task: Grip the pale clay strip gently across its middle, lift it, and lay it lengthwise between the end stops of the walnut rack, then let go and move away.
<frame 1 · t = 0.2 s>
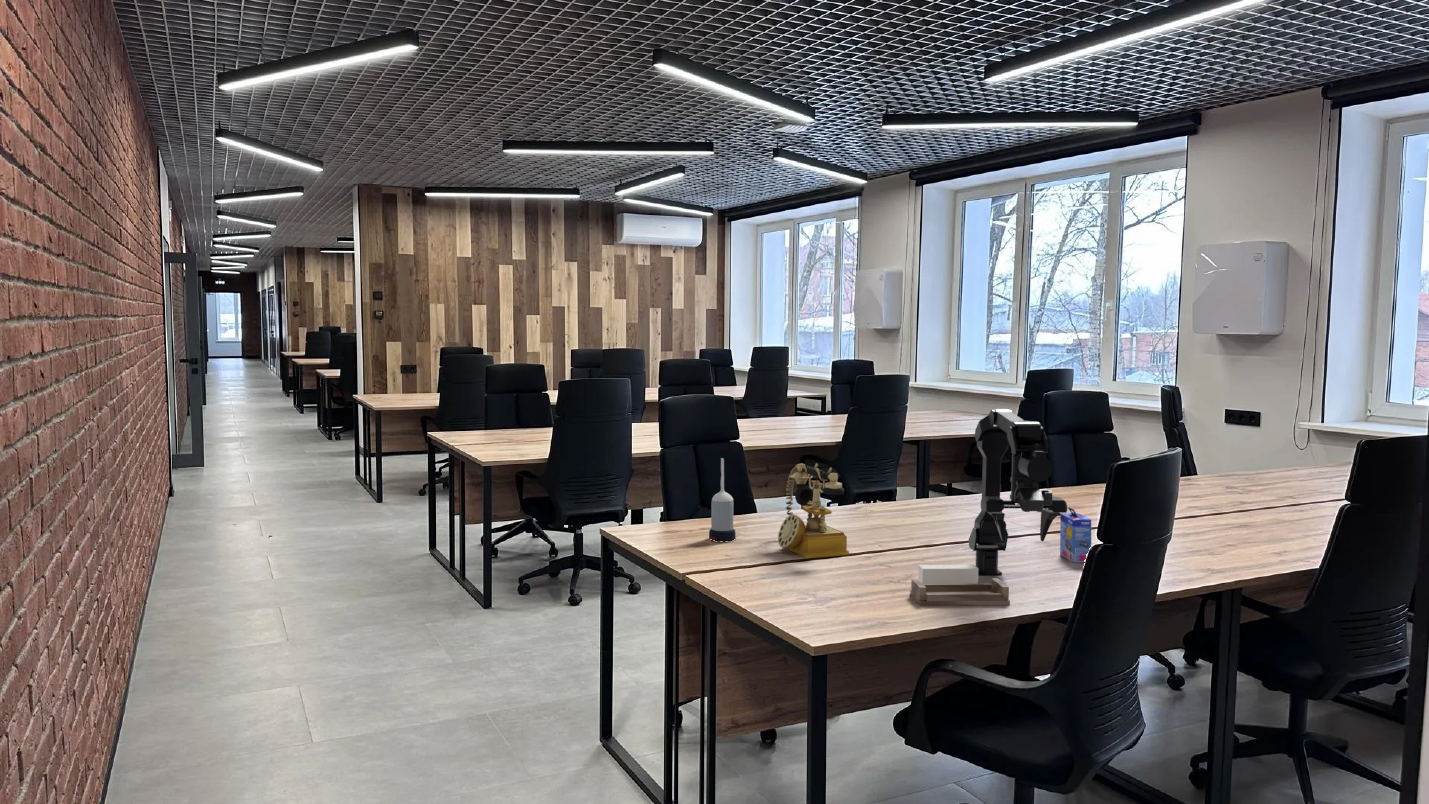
hand: (1022, 540, 228), 14 cm above the table, tool pointing down, fingers open, 9 cm apart
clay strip: (947, 586, 243), on the table
rotary telephone: (802, 549, 285), on the table
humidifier: (722, 540, 297), on the table
ink cartridge box: (1074, 559, 273), on the table
walnut rack: (959, 599, 230), on the table
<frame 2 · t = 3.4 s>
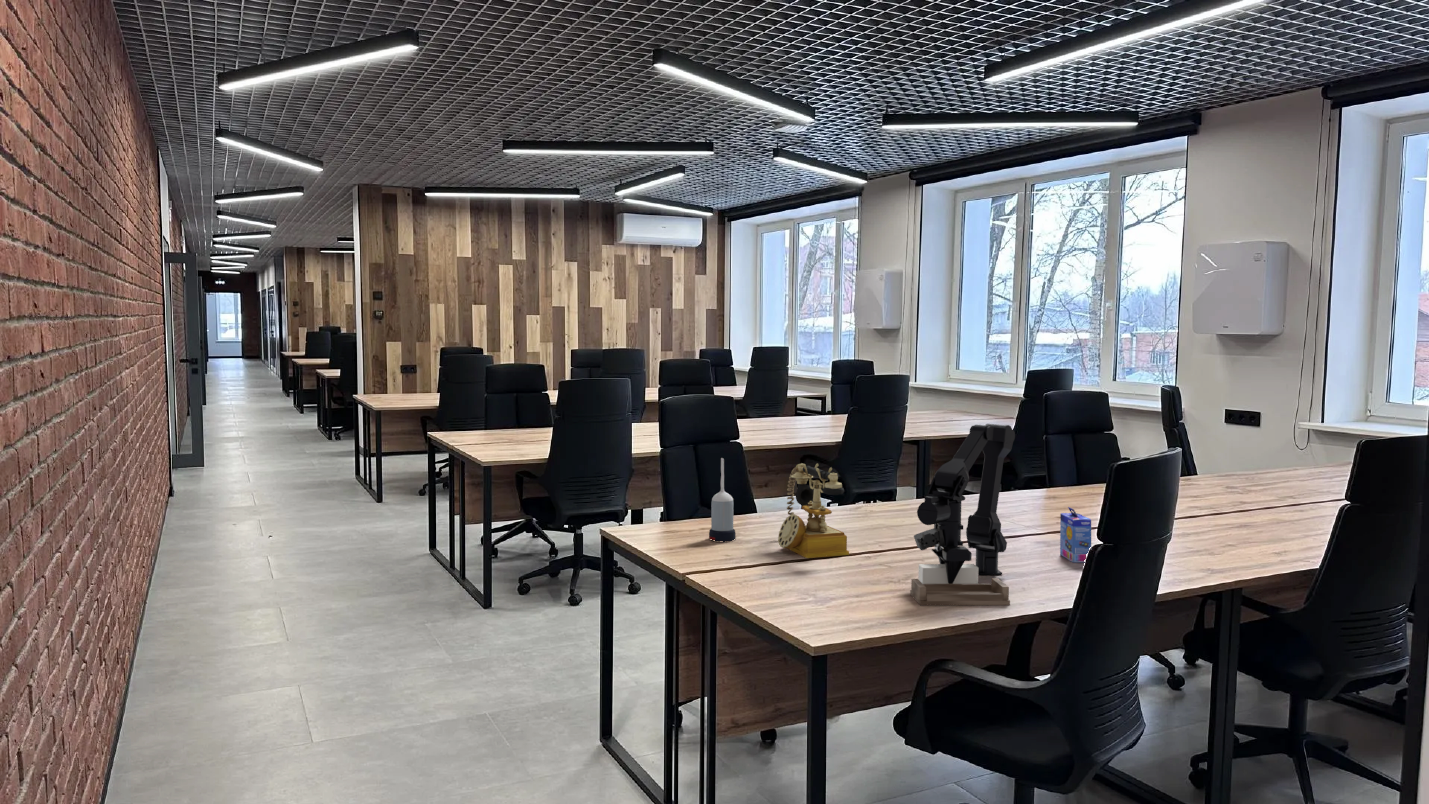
hand: (947, 581, 243), 1 cm above the table, tool pointing down, fingers closed on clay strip, 4 cm apart
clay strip: (947, 585, 243), on the table, touching gripper
everything else where it was.
when the fingers open (3 cm above the table, at t = 8.3 s): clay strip drops 1 cm, resting on walnut rack.
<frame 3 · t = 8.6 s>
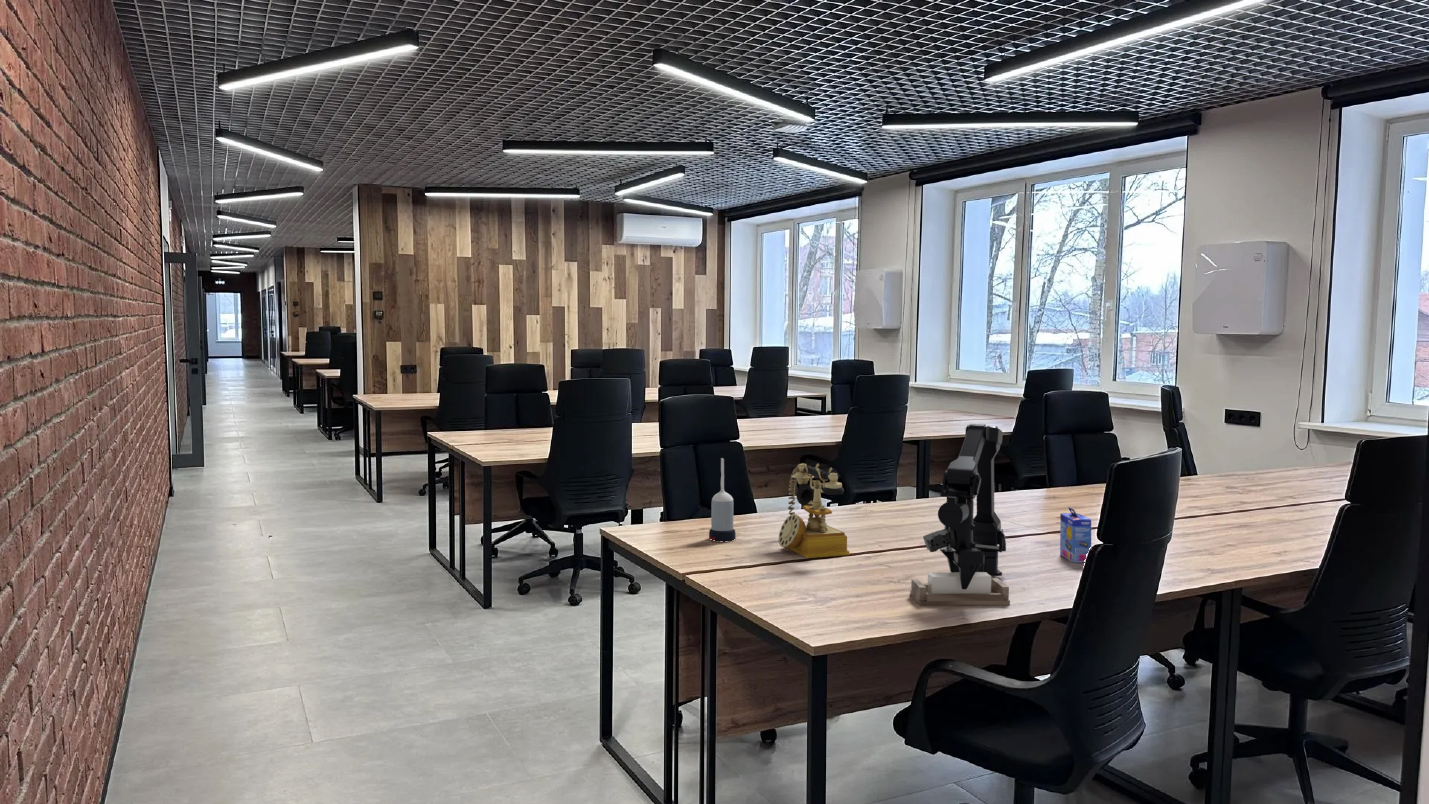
hand: (959, 584, 230), 3 cm above the table, tool pointing down, fingers open, 7 cm apart
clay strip: (959, 595, 230), point 1 cm above the table, touching walnut rack
everything else where it was.
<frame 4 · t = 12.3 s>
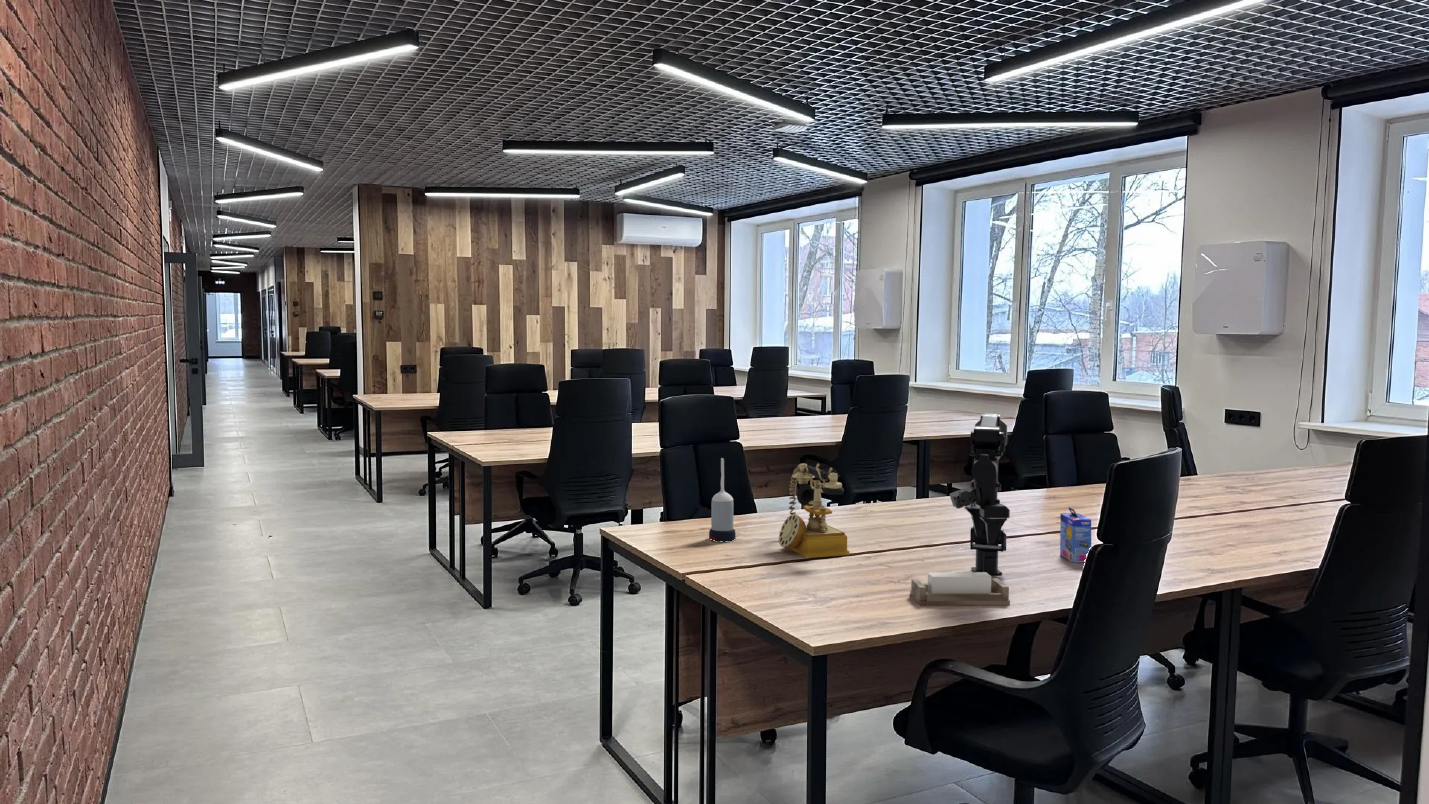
hand: (984, 540, 239), 12 cm above the table, tool pointing down, fingers open, 9 cm apart
nothing on the table moved.
at the end: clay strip 0.1 cm off-centre on the walnut rack, point 1.0 cm above the walnut rack's base; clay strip tilted 0°; the gripper is holding nothing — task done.
